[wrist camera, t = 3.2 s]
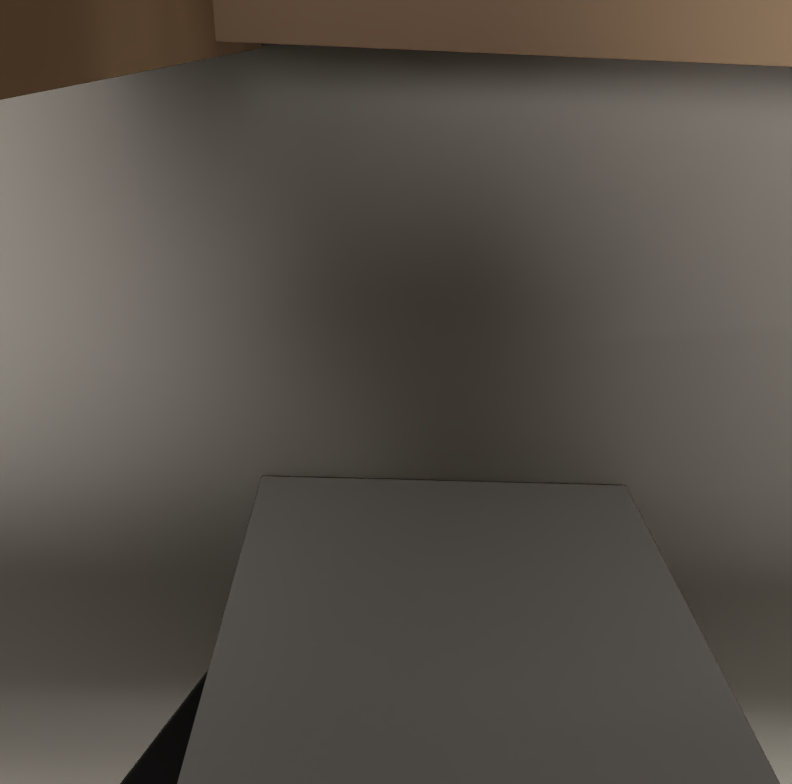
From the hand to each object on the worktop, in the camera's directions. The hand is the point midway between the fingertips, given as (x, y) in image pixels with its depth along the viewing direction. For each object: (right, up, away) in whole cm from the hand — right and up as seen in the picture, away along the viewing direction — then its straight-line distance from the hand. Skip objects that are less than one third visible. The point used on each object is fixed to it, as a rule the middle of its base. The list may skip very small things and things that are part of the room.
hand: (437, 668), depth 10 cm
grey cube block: (0, -1, -1) cm, 2 cm away
